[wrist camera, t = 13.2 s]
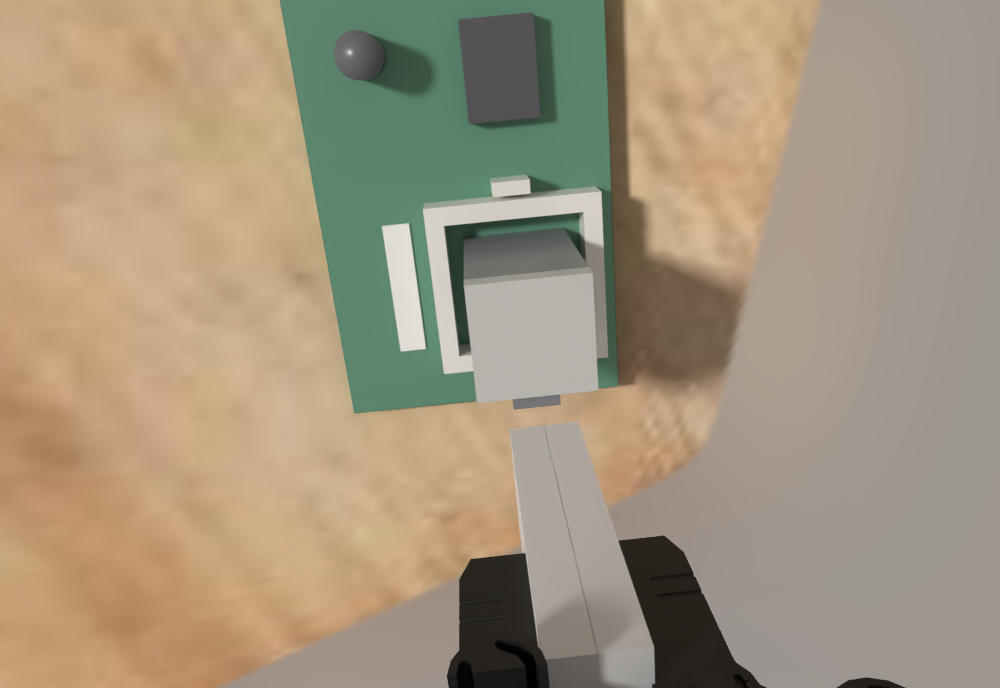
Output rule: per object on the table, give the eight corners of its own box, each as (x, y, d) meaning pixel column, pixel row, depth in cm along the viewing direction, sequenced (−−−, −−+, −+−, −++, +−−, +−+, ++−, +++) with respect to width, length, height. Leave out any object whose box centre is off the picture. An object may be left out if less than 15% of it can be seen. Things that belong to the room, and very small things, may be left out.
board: (277, -42, 29) (257, -55, 26) (596, -73, 29) (611, -88, 26) (357, 404, 36) (348, 432, 33) (614, 378, 36) (627, 403, 34)
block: (463, 237, 32) (463, 285, 25) (562, 227, 33) (592, 272, 25) (475, 346, 34) (479, 422, 27) (569, 337, 34) (599, 409, 27)
